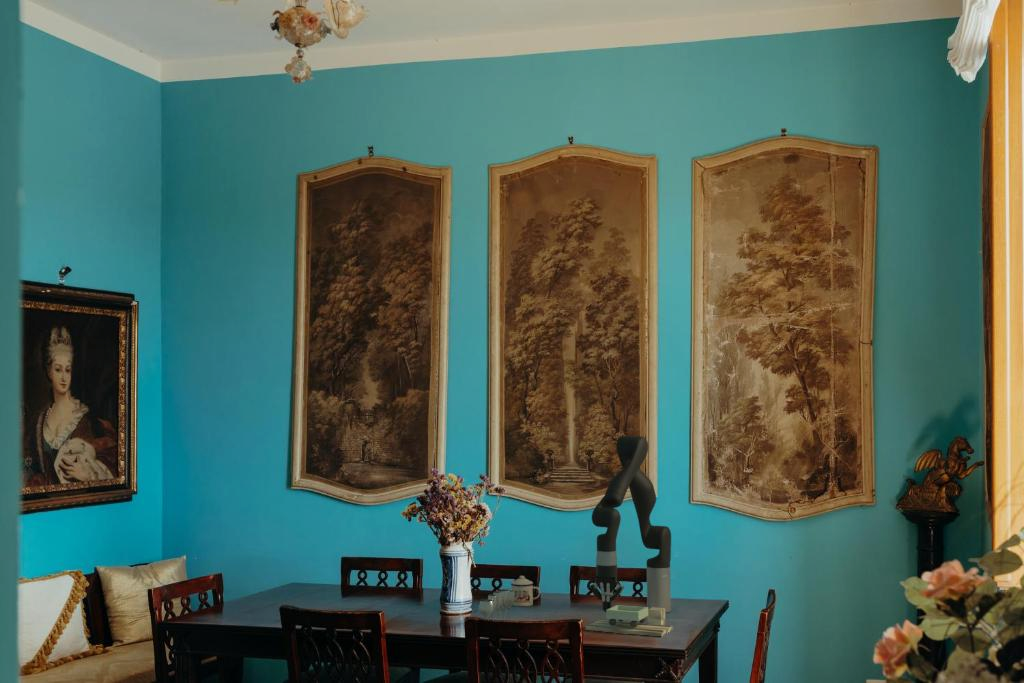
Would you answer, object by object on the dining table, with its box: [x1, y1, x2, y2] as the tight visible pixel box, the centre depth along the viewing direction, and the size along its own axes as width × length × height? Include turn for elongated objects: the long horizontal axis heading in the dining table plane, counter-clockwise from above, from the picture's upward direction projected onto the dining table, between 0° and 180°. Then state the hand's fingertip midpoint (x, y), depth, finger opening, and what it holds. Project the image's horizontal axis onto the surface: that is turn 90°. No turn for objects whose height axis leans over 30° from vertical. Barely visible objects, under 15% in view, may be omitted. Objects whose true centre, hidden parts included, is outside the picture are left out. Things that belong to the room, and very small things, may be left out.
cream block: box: [647, 607, 666, 625], centre depth 391 cm, size 5×5×6 cm
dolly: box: [605, 604, 648, 627], centre depth 382 cm, size 11×12×5 cm
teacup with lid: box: [510, 575, 541, 607], centre depth 435 cm, size 12×9×12 cm
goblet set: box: [478, 588, 515, 620], centre depth 385 cm, size 28×6×13 cm, turn 161°
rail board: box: [585, 619, 674, 637], centre depth 381 cm, size 14×28×2 cm, turn 64°
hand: (607, 611), depth 385 cm, fingers closed
